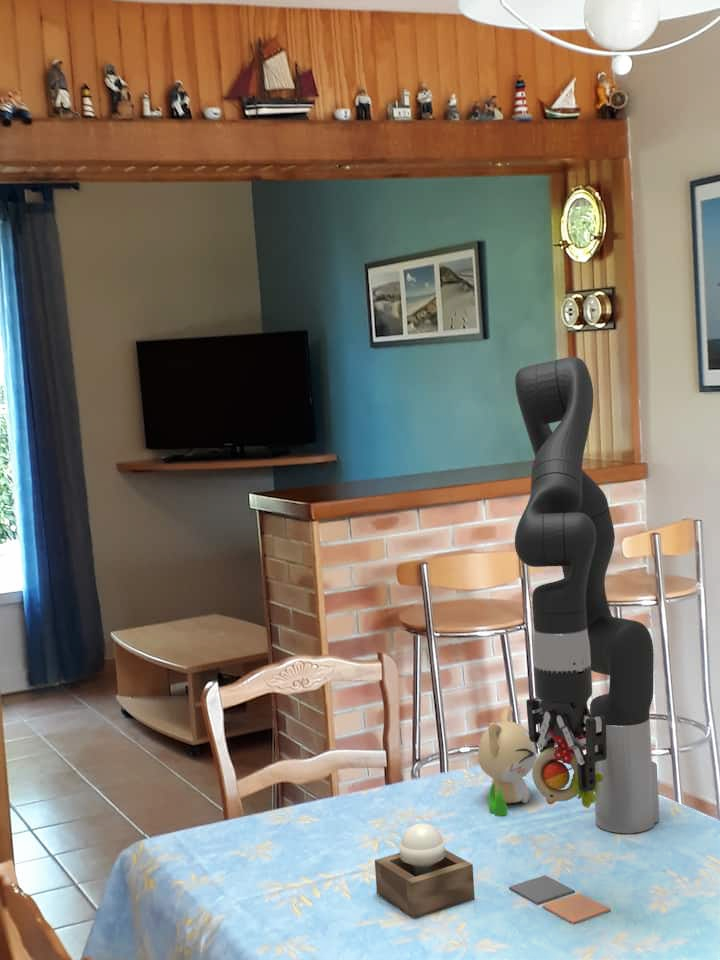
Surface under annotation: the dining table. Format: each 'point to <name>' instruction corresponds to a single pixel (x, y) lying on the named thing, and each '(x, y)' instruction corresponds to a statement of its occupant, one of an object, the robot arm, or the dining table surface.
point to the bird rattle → (560, 774)
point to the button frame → (424, 884)
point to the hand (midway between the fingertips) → (568, 782)
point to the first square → (541, 889)
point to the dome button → (422, 848)
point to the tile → (576, 908)
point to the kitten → (506, 762)
